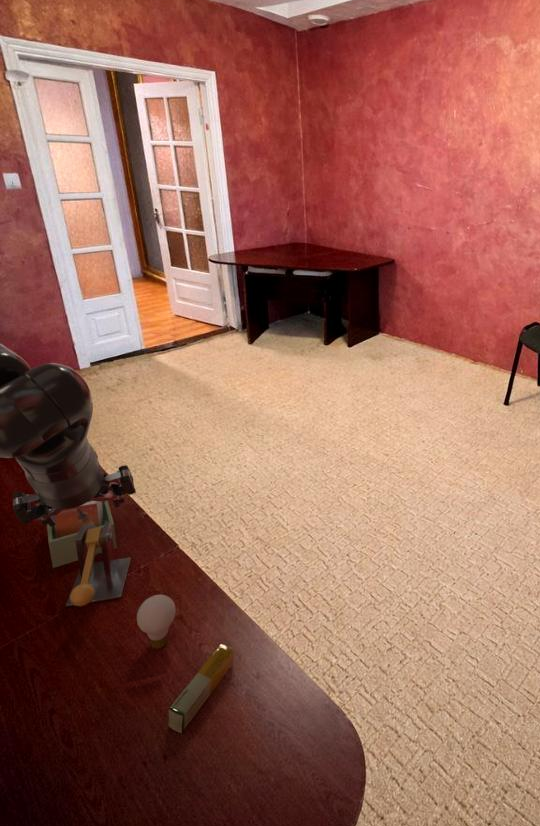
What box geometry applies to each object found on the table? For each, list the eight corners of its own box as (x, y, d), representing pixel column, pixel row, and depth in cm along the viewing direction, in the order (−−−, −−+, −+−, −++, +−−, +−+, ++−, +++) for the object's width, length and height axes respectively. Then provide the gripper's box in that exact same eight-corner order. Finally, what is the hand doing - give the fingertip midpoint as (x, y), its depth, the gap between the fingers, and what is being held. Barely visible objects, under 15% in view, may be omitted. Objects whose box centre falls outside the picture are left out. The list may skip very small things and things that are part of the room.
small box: (58, 552, 102) (51, 510, 98) (63, 535, 106) (57, 495, 103) (102, 544, 105) (96, 503, 102) (105, 528, 110) (100, 488, 106)
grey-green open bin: (50, 536, 107) (45, 510, 105) (109, 519, 114) (106, 495, 112) (53, 570, 98) (48, 542, 96) (117, 550, 105) (114, 524, 102)
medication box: (181, 735, 70) (181, 717, 69) (166, 727, 71) (166, 709, 69) (233, 664, 81) (234, 647, 80) (220, 658, 82) (220, 641, 80)
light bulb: (154, 667, 80) (148, 620, 77) (133, 649, 83) (127, 603, 80) (185, 642, 85) (181, 597, 82) (164, 625, 87) (160, 581, 84)
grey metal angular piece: (121, 601, 92) (114, 545, 88) (66, 610, 89) (56, 554, 85) (131, 561, 102) (125, 510, 98) (82, 569, 99) (74, 516, 95)
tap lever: (94, 607, 84) (90, 597, 82) (70, 612, 83) (65, 601, 81) (108, 535, 95) (104, 525, 92) (87, 538, 93) (83, 528, 91)
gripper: (-3, 516, 57) (32, 551, 70) (131, 479, 64) (141, 517, 77) (-7, 459, 61) (27, 502, 73) (122, 431, 68) (133, 474, 80)
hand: (86, 510), depth 75 cm, fingers open, 8 cm apart
